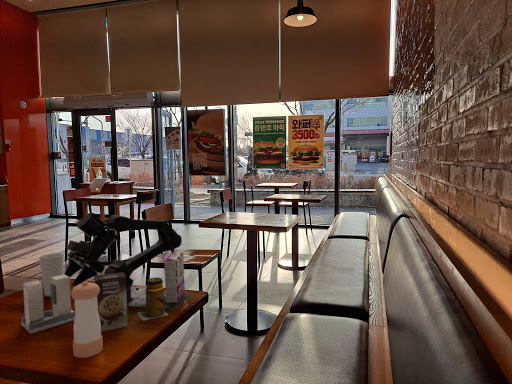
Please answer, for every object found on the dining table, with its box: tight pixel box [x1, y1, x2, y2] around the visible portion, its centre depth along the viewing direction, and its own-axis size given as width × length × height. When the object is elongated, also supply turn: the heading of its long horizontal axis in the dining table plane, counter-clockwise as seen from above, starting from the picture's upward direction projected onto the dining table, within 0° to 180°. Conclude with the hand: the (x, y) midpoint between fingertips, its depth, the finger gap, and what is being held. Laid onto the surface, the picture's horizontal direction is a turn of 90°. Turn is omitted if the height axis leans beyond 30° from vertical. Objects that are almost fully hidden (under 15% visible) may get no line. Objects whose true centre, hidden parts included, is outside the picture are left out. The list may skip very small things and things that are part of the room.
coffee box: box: [93, 272, 128, 332], centre depth 112 cm, size 9×6×16 cm
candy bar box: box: [163, 251, 186, 304], centre depth 135 cm, size 11×5×16 cm, turn 179°
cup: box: [38, 252, 65, 297], centre depth 142 cm, size 8×8×16 cm
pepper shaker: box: [70, 280, 104, 359], centre depth 96 cm, size 7×7×19 cm
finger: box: [50, 274, 72, 317], centre depth 117 cm, size 5×4×13 cm
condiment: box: [137, 277, 169, 321], centre depth 120 cm, size 7×8×12 cm
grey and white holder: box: [21, 279, 75, 335], centre depth 115 cm, size 14×9×14 cm, turn 137°
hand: (68, 282), depth 119 cm, fingers open, 9 cm apart
